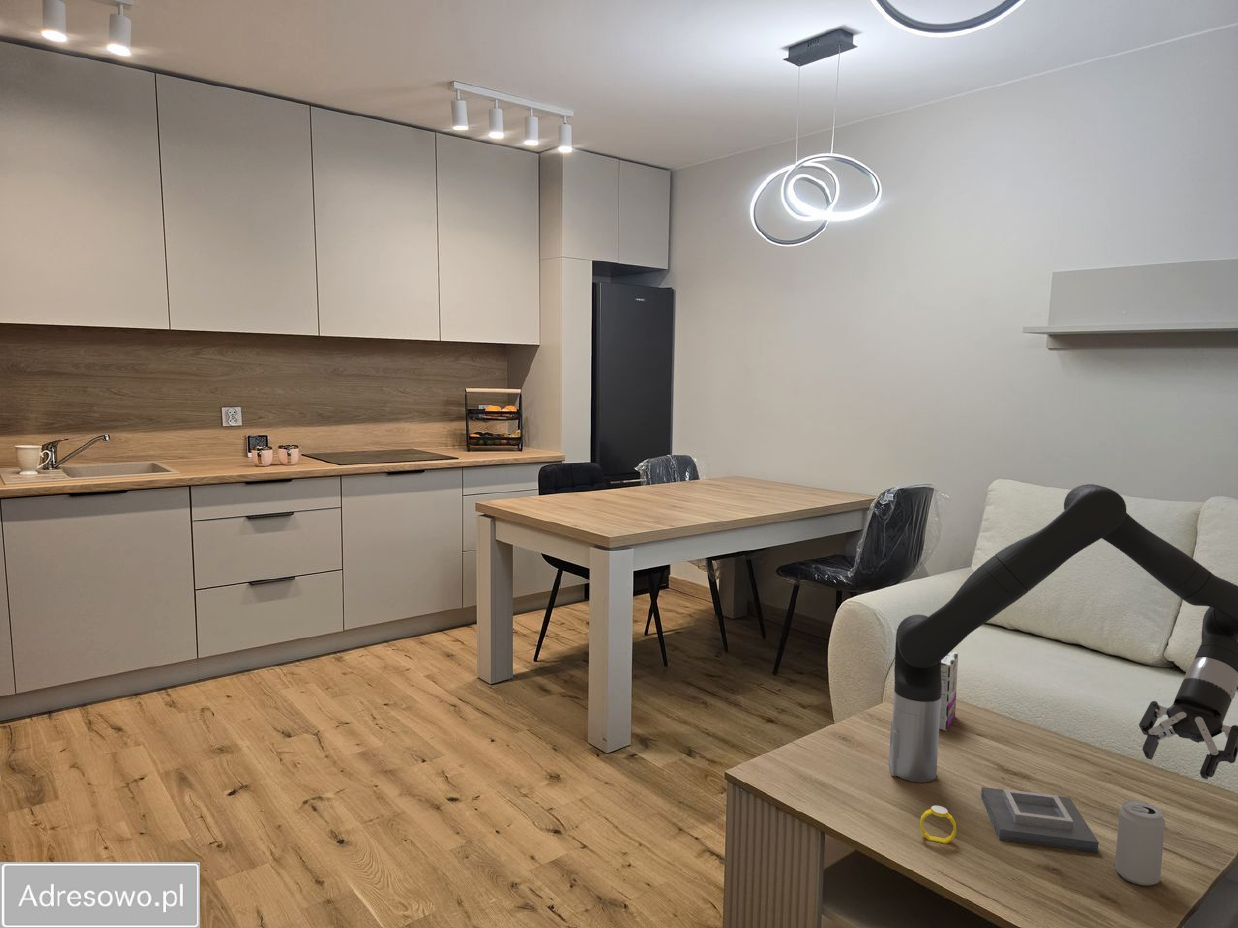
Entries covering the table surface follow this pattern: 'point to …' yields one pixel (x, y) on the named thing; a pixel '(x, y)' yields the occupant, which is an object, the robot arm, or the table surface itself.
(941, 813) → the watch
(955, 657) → the candy bar box
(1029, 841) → the mounting plate
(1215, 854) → the table surface
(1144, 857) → the beverage can
